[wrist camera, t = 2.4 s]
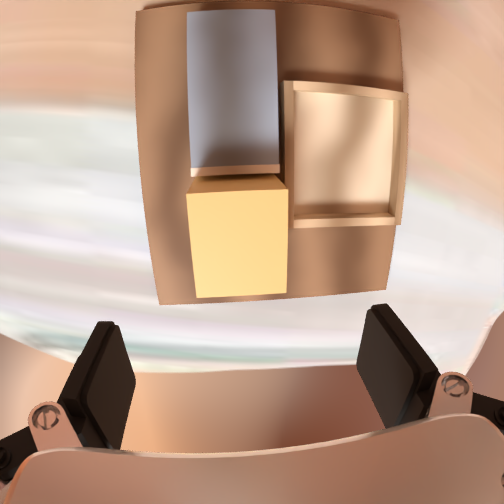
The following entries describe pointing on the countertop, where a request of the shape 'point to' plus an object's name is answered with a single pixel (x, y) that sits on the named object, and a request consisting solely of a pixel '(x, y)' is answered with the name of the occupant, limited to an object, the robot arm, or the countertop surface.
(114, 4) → the countertop surface
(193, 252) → the block
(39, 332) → the countertop surface
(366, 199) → the board
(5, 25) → the countertop surface
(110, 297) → the countertop surface
